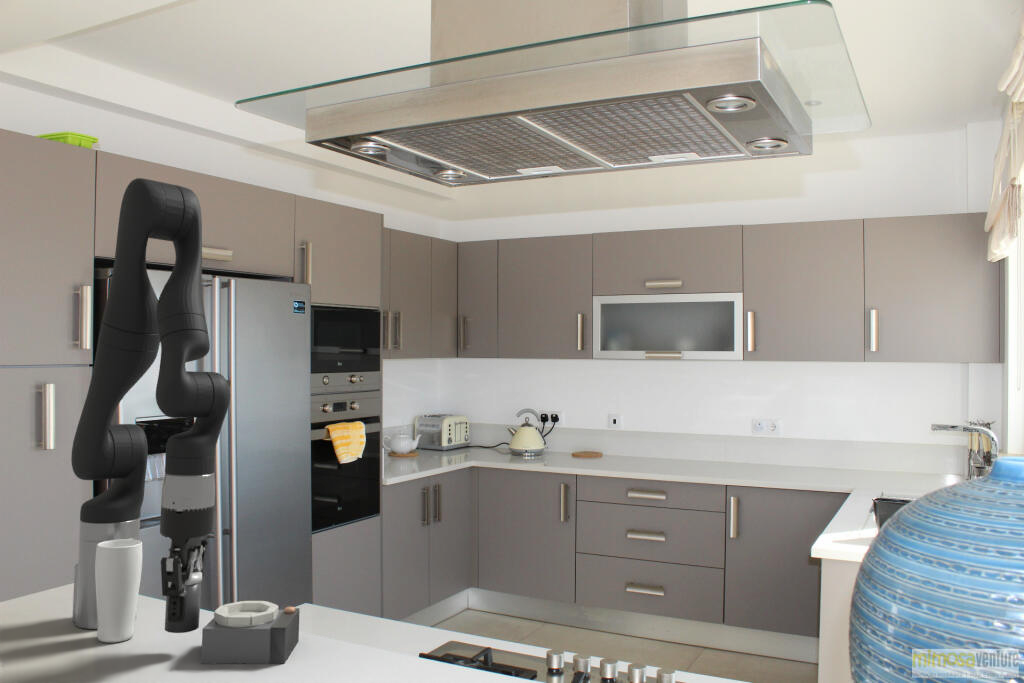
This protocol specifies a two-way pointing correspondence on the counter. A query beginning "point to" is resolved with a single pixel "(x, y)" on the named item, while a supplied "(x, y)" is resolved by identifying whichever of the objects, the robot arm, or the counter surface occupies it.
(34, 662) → the counter surface
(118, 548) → the drinking glass
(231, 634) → the block with octagonal ring
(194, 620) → the dark capped cylinder
